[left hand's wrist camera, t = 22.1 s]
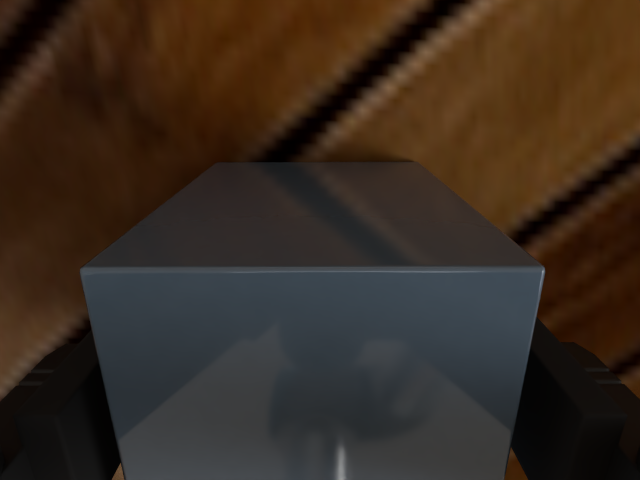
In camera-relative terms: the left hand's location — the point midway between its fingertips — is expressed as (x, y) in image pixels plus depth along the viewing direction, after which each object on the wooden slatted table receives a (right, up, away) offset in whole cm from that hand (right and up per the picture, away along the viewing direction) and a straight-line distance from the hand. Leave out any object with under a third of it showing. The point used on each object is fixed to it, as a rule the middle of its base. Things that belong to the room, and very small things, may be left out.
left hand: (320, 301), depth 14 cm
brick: (0, +1, +3) cm, 3 cm away
